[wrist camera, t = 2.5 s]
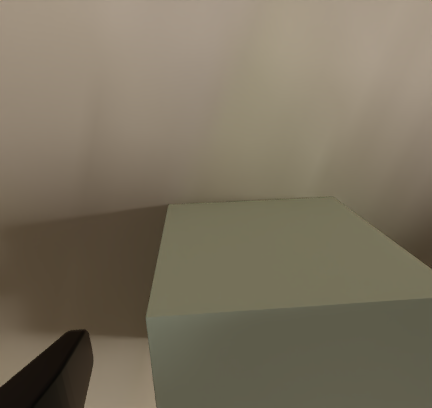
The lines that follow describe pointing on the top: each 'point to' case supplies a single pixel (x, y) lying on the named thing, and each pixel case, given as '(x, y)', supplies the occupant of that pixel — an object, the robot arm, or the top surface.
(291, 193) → the top surface
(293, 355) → the sage green block
